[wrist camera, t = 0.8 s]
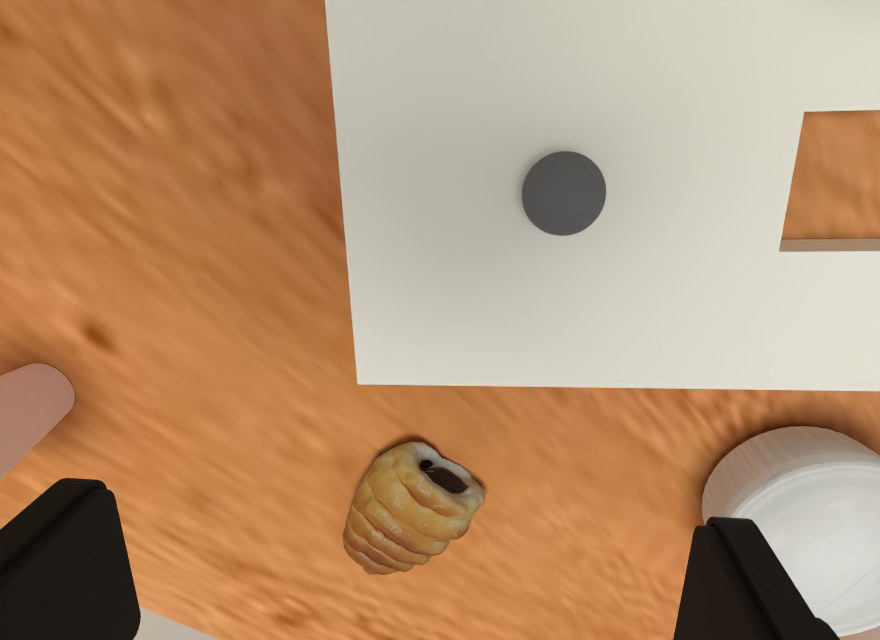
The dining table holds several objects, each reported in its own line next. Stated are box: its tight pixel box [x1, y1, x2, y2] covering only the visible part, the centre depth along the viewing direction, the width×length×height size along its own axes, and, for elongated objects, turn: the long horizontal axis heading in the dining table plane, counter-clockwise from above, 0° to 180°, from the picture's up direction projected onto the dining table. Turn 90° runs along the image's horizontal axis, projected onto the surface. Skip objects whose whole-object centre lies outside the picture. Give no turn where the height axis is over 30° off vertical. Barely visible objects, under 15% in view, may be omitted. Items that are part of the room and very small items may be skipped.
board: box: [325, 0, 880, 391], centre depth 27 cm, size 32×20×2 cm, turn 92°
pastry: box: [343, 442, 485, 575], centre depth 35 cm, size 9×7×4 cm
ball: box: [522, 151, 606, 236], centre depth 25 cm, size 4×4×4 cm
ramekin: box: [702, 426, 880, 637], centre depth 31 cm, size 11×11×5 cm
